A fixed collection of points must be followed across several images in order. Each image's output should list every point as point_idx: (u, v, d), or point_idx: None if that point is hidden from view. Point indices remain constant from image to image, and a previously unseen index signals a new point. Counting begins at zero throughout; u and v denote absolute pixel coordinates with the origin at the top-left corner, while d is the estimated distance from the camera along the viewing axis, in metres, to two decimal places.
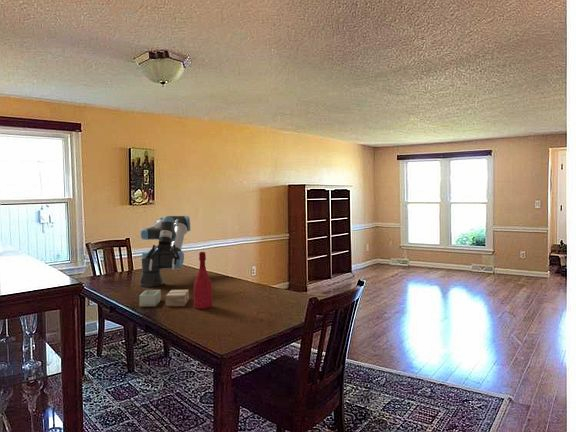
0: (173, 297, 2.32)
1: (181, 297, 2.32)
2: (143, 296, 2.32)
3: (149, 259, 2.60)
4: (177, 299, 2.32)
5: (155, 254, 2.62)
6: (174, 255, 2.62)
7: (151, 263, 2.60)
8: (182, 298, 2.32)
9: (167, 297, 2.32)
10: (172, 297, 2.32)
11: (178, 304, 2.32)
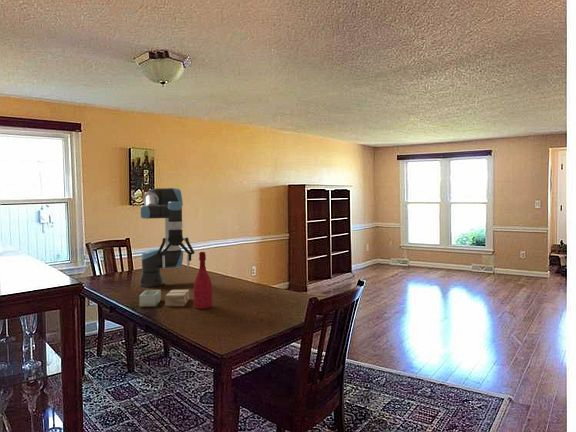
0: (173, 297, 2.32)
1: (180, 297, 2.32)
2: (143, 296, 2.32)
3: (161, 255, 2.37)
4: (176, 299, 2.32)
5: (167, 249, 2.38)
6: (188, 251, 2.38)
7: (164, 260, 2.38)
8: (181, 298, 2.32)
9: (167, 297, 2.32)
10: (172, 297, 2.32)
11: (178, 304, 2.32)
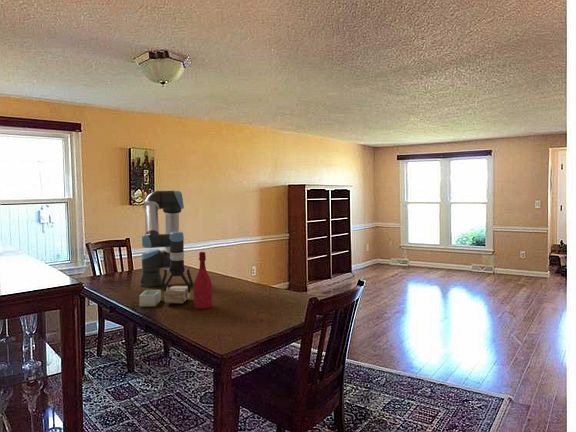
0: (172, 293, 2.32)
1: (179, 294, 2.32)
2: (143, 296, 2.32)
3: None
4: (175, 296, 2.32)
5: (170, 280, 2.38)
6: (187, 283, 2.39)
7: None
8: (180, 295, 2.32)
9: (166, 293, 2.33)
10: (171, 293, 2.32)
11: (176, 301, 2.33)
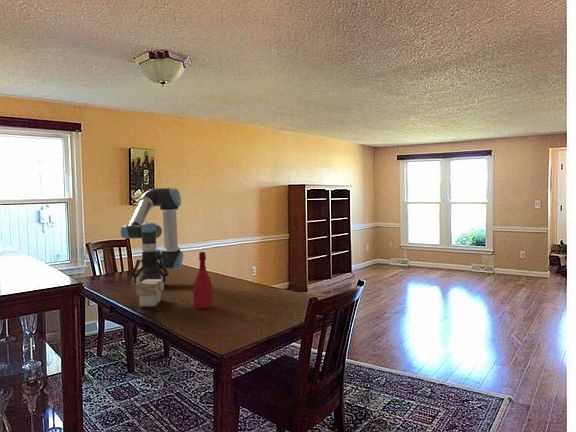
0: (143, 286, 2.31)
1: (151, 286, 2.31)
2: (143, 296, 2.32)
3: None
4: (147, 288, 2.31)
5: None
6: (162, 273, 2.37)
7: (138, 281, 2.37)
8: (152, 287, 2.31)
9: (138, 286, 2.31)
10: (142, 286, 2.31)
11: (148, 293, 2.31)
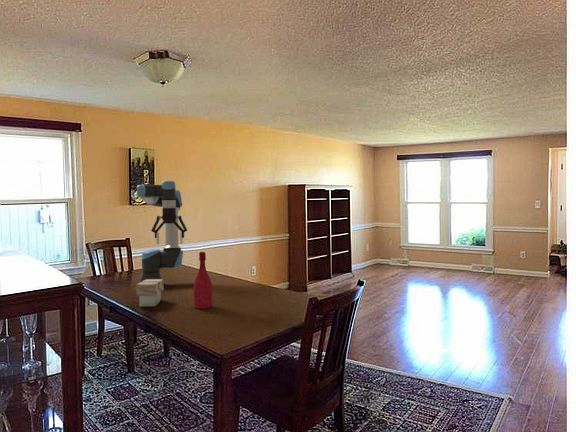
0: (143, 286, 2.31)
1: (151, 286, 2.31)
2: (143, 296, 2.32)
3: (155, 232, 2.49)
4: (147, 288, 2.31)
5: None
6: (181, 228, 2.49)
7: (158, 237, 2.50)
8: (152, 287, 2.31)
9: (138, 286, 2.31)
10: (142, 286, 2.31)
11: (148, 293, 2.31)
